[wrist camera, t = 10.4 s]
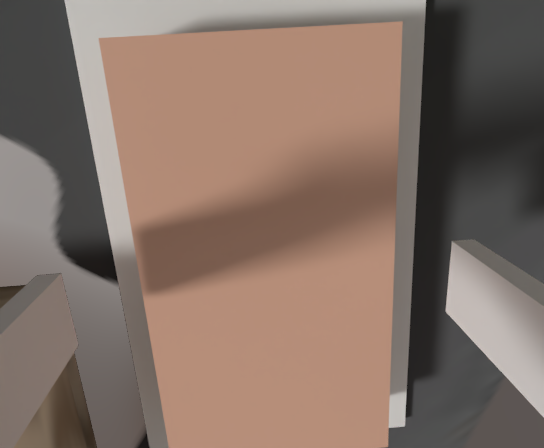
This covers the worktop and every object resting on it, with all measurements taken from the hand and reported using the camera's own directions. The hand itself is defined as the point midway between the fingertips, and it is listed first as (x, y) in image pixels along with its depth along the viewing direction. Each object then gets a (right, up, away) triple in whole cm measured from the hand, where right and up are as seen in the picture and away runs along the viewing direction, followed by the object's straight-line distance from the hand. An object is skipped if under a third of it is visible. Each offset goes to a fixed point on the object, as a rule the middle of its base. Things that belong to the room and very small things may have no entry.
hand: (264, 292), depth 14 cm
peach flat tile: (0, +1, +5) cm, 5 cm away
